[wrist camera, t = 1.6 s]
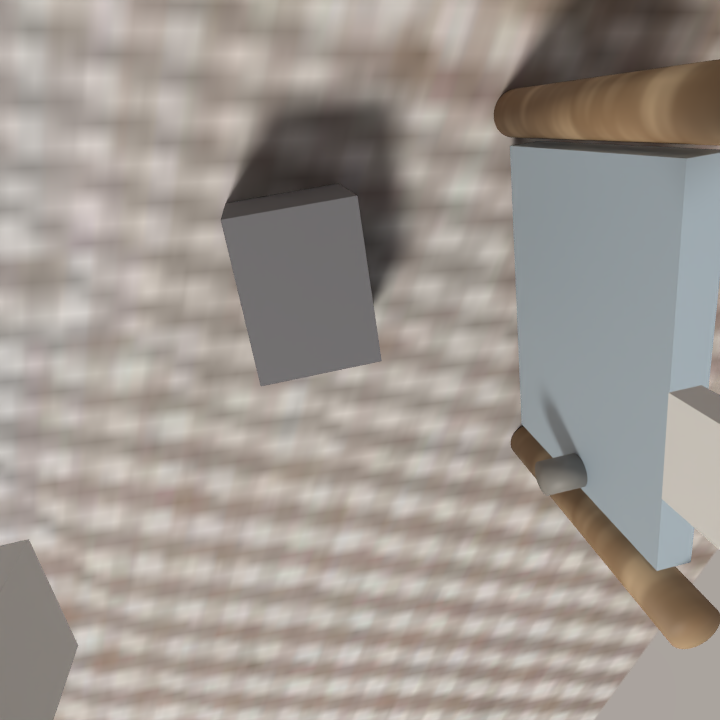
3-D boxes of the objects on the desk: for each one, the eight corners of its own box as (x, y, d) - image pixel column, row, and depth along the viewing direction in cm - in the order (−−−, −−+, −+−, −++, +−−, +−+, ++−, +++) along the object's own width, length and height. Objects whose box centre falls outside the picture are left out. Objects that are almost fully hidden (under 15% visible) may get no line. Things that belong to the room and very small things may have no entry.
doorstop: (225, 203, 30) (220, 219, 25) (338, 183, 31) (357, 195, 25) (258, 343, 33) (260, 386, 28) (360, 323, 34) (381, 361, 29)
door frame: (492, 92, 30) (718, 60, 16) (535, 85, 31) (797, 47, 16) (511, 459, 39) (666, 654, 25) (544, 451, 40) (717, 640, 25)
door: (474, 152, 30) (627, 169, 18) (538, 140, 31) (732, 150, 18) (492, 430, 37) (613, 582, 25) (545, 418, 37) (690, 562, 25)
